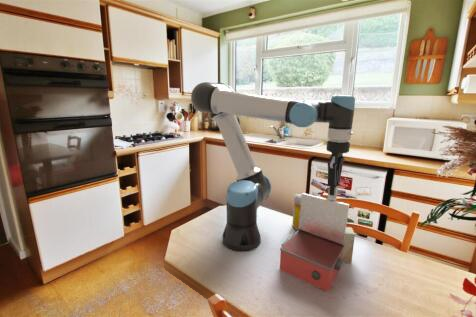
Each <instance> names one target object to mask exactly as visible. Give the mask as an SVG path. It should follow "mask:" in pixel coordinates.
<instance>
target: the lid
mask: <svg viewBox="0 0 476 317" xmlns="http://www.w3.org/2000/svg"><path fill="white" fill-rule="evenodd" d="M302 193H303V194H302V200H301V209H300V218H299V227H298V229H297V230H299V231H302V232H305V233H308V234H311V235H314V236H317V237H320V238H323V239H325V240H328V241H331V242H334V243H337V244H340V245H343V244H344V238H345V232H346V227H347V223H348V219H349V218H348V217H349V209H350V204H349V203H345V202H341V201H337V200H336V201H334V200H330V199H328V198H325V197H321V196H318V195H312V194H310V193H305V192H302Z"/></svg>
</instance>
